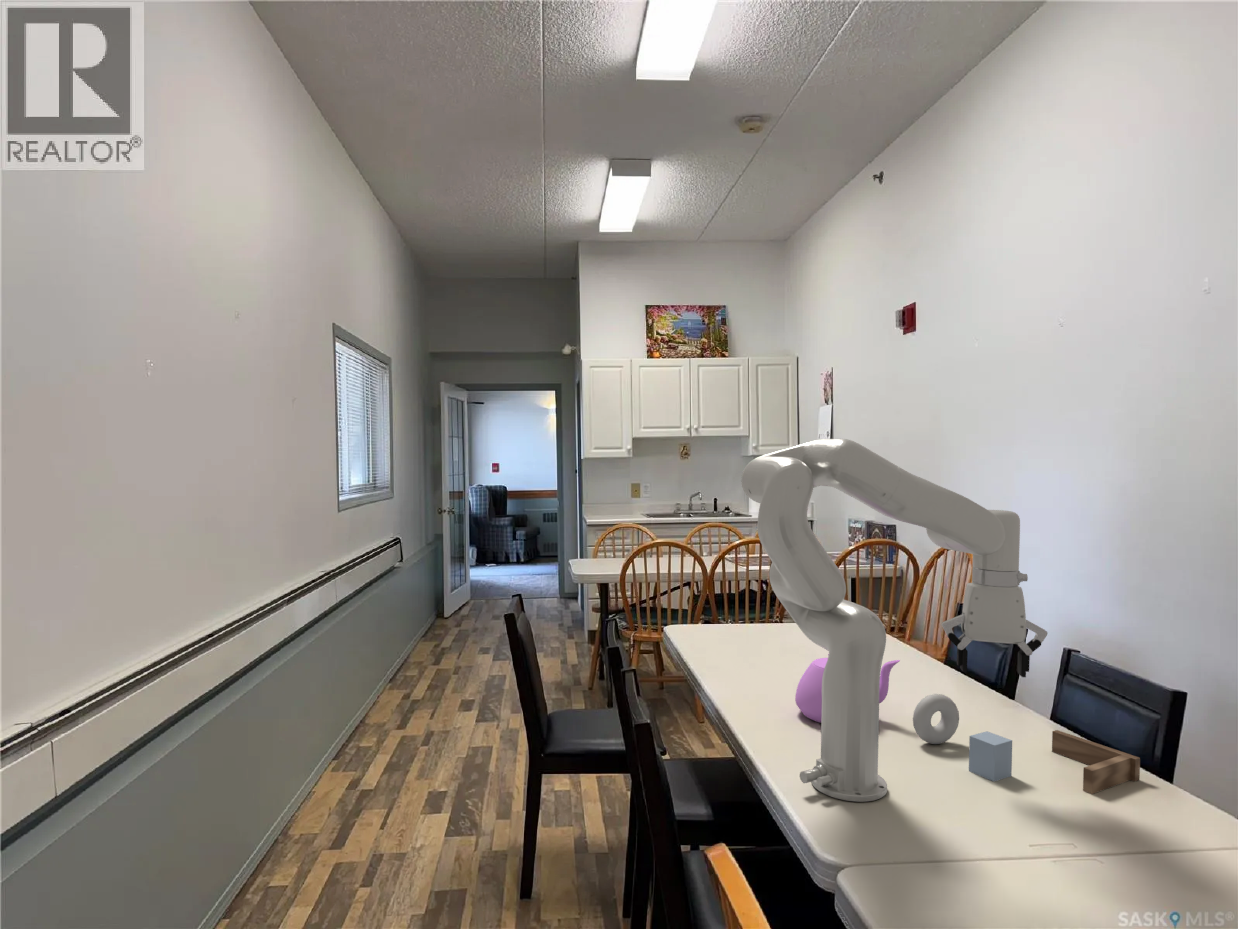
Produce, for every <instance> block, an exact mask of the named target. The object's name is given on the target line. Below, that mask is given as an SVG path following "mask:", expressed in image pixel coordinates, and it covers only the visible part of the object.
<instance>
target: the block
mask: <svg viewBox="0 0 1238 929" xmlns="http://www.w3.org/2000/svg"><path fill="white" fill-rule="evenodd" d="M968 743H969V746H968V772H970V773H972V774H975V775H977V776H979V777H982V778H984V779H987V780H989V781H991V782H997V781H999V780H1003V779H1006V778H1010V777H1012V775H1013V774H1012V769H1013V767H1012V766H1013V740H1012V739H1009V738H1006V737H1004V736H1001V735H999V734H996V733H993V732H990V731H981V732H980V733H975V734H971V735H969V741H968Z"/></svg>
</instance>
